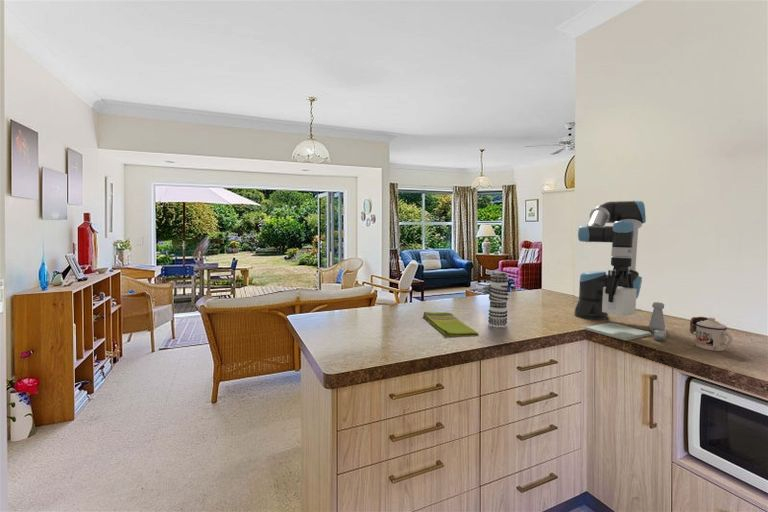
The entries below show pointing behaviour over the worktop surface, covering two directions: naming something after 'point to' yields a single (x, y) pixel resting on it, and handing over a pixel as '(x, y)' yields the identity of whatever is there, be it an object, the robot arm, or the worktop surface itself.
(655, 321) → the salt shaker
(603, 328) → the board
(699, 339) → the teacup with lid
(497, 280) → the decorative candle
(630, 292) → the white block
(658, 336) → the cylinder
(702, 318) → the pottery mug
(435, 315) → the dish towel
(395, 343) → the worktop surface
